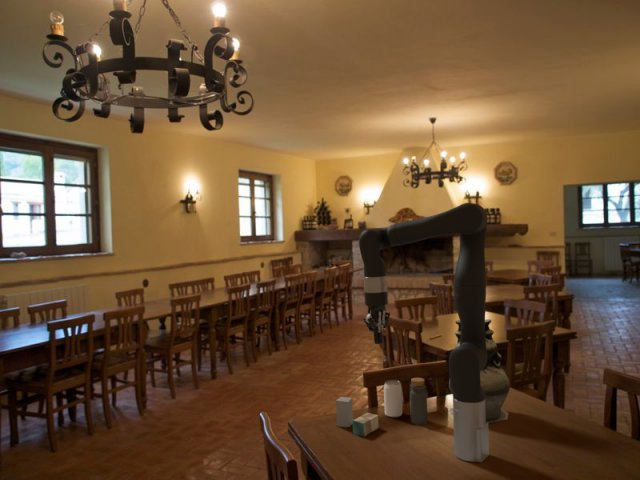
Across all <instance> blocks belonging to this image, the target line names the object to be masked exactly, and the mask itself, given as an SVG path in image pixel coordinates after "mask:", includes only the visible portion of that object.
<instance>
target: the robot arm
mask: <svg viewBox="0 0 640 480" xmlns="http://www.w3.org/2000/svg"><path fill="white" fill-rule="evenodd" d="M488 221H489V219H488V214H487V211H486V210H485V208H484V207H483V206H482V205H480V204H477V203H473V202H465V203H461V204H459V205H457V206H455V207H453V208H451V209H448V210H446V211H443V212H441V213H437V214H434V215H430V216H425V217H420V218H416V219H411V220H405V221H401V222H398V223H393V224H391V225H389V226H386V227H385V226H384V227H382V228H371V229H369V228H367V229H364V230H363V231H362V232H361V233H360V235H359V238H358V247H359V248H358V249H359V251H360V256H361V260H362V263H363V291H364V292H363V293H364V305H365V306H367V307H368V308H367V315H366V316H365V317H363V321H364V323H365V325H366V327H367V328H368V331H369V332H372V333H373V341H374V344H375V345H381V344H383V339H384V338H383V332H384V330H386V329H387V326H388V322H389V319H390V316H391V313H390V312H388V311H387V309H386V306H387V305H389V299H388V297H389V295H388V293H389V292H388V282H387V273H386V272H387V271H386V262H385V260H384V259H383V258H382V256H381V250H385V249H388V248H391V247H398V246H404V245H409V244H412V243H417V242H420V241H421V242H422V241H424V240H426V239H430V238H433V237H439V236H444V235H452V234H453V235H454V234H455V235H457V234H459V235H458V236H459V251H458V257H457V260H456V266H455V270H454V275H453V300H454V301H453V302H454V305H455V309H456V313H457V315H458V320H460V324H461V338H460V346H458V347H456V348H455V347H454V348H453V349H452V351H451V352H450V353H449V357H448V372H449V374H448V375H449V379H450V386H451V389H452V391H451V393H452V392H453V394H452V403H453V404H452V406H453V407H452V408H453V442H454V446H453V448H454V450H453V451H454V455H455V457H456V458H458V459H460V460H462V461H466V462H478V463H483V462H484V461H485V460H486V459H487V458H488V457H489V456H490V440H489V439H490V434H489V423H486V415H485V391H484V389H483V388H482V387H481V382H480V371H481V370H482V369H483V368H484V367H485V365H486V363H487V348H486V339H485V320H486V304H487V303H486V302H487V301H486V300H487V298H486V297H487V278H486V277H487V274H486V273H487V272H486V257H485V256H486V255H485V249H486V248H485V246H486V245H485V243H486V237H487V236H486V235H487V229H488Z"/></svg>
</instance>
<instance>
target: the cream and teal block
mask: <svg viewBox="0 0 640 480" xmlns="http://www.w3.org/2000/svg"><path fill="white" fill-rule="evenodd" d="M377 429H379V415H378V414H374V413H370V412H366V413H364V414H362V415H361V416H359V417H356V418H355V419H353V424H352V434H353V435H355V436H356V435H357V436H360V437H364V438H365V437H366V436H367V435H369V434H370V433H372V432H374V431H376V430H377Z"/></svg>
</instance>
